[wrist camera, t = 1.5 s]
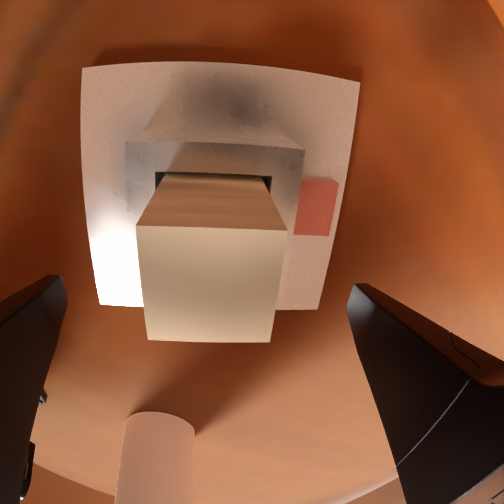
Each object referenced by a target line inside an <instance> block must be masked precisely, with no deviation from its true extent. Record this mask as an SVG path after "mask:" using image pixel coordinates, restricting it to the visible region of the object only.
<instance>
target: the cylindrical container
mask: <svg viewBox="0 0 504 504" xmlns="http://www.w3.org/2000/svg"><path fill="white" fill-rule="evenodd" d="M115 504H196V494H195V431H194V428H193V427H192V425H191V424H190V423H188V422H187V421H185V420H184V419H182V418H179V417H177V416H174V415H171V414H167V413H162V412H151V411H148V412H139V413H135V414H132V415H131V416H129V417H128V418H127V419H126V422H125V428H124V434H123V441H122V448H121V455H120V462H119V470H118V478H117V487H116V496H115Z"/></svg>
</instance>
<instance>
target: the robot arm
mask: <svg viewBox="0 0 504 504" xmlns="http://www.w3.org/2000/svg"><path fill="white" fill-rule="evenodd" d="M66 307H67V295H66V291H65V287H64V283H63V279H62V277H61V276H60V275H47V276H46V277H44V278H42V279H40V280H38V281H36V282H34V283H33V284H31V285H29V286H27V287H25V288H24V289H22V290H20V291H18V292H16V293H15V294H13V295H11V296H9V297H8V298H6V299H4V300H3V301H1V302H0V504H19V503H20V500H22V499H23V498H24V497H25V496H26V494H27V491H28V489H29V486H30V482H31V475H32V466H33V458H34V451H35V444H34V443H32V442H31V441H30V437H31V432H32V428H33V424H34V420H35V416H36V412H37V408H38V404H39V403H40V404H45V403H46V398H45V397H44V395H43V393H42V390H43V387H44V383H45V380H46V377H47V373H48V370H49V367H50V364H51V361H52V358H53V355H54V352H55V349H56V346H57V342H58V339H59V334H60V330H61V326H62V322H63V318H64V315H65V311H66ZM347 314H348V318H349V321H350V325H351V329H352V333H353V337H354V341H355V345H356V349H357V352H358V355H359V358H360V360H361V363H362V366H363V369H364V371H365V374H366V377H367V380H368V383H369V385H370V388H371V391H372V394H373V397H374V400H375V403H376V406H377V408H378V411H379V414H380V417H381V420H382V423H383V426H384V430H385V433H386V436H387V439H388V442H389V445H390V448H391V451H392V455H393V458H394V461H395V465H396V466H397V467H396V469H397V472H398V475H399V479H400V482H401V485H402V489H403V493H404V496H405V500H406V503H407V504H504V361H502V360H500V359H498V358H497V357H495V356H493V355H491V354H489V353H487V352H485V351H483V350H481V349H479V348H478V347H476V346H474V345H472V344H470V343H469V342H467V341H465V340H463V339H462V338H460V337H458V336H456V335H455V334H453V333H451V332H449V331H448V330H446V329H445V328H443V327H441V326H440V325H438V324H436V323H435V322H433V321H431V320H429V319H428V318H426V317H424V316H423V315H421V314H419V313H417V312H416V311H414V310H412V309H411V308H409V307H407V306H405V305H404V304H402V303H400V302H399V301H397V300H395V299H393V298H392V297H390V296H388V295H386V294H385V293H383V292H381V291H379V290H378V289H376V288H374V287H372V286H371V285H369V284H367V283H356V284H354V285H353V287H352V290H351V294H350V297H349V300H348V303H347ZM29 441H30V442H29Z"/></svg>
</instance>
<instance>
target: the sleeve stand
mask: <svg viewBox="0 0 504 504" xmlns="http://www.w3.org/2000/svg"><path fill="white" fill-rule="evenodd" d="M359 89H360V82H356V81H351V80H347V79H342V78H337V77H332V76H327V75H322V74H316V73H310V72H304V71H298V70H291V69H284V68H276V67H268V66H259V65H248V64H235V63H219V62H142V63H126V64H114V65H104V66H95V67H87V68H82V81H81V160H82V177H83V190H84V201H85V211H86V220H87V228H88V236H89V243H90V250H91V256H92V262H93V268H94V274H95V280H96V285H97V290H98V295H99V300H100V304H108V305H123V306H140V307H143V300H142V292H141V283H140V273H139V263H138V252H137V239H136V224H137V222H138V220H139V219H140V217H141V215H142V213H143V211H144V210H145V208H146V206H147V204H148V203H149V201H150V199H151V197H152V196H153V194H154V192H155V191H156V189H157V187H158V185H159V184H160V182H161V180H162V179H163V177H164V175H165V174H166V172H201V173H226V174H245V175H260V176H261V178H262V180H263V182H264V184H265V186H266V188H267V190H268V192H269V194H270V196H271V198H272V200H273V202H274V204H275V206H276V208H277V210H278V212H279V214H280V216H281V218H282V220H283V222H284V224H285V226H286V228H287V230H288V234H287V241H286V247H285V254H284V260H283V267H282V273H281V279H280V285H279V291H278V297H277V303H276V309H275V310H312V309H318V305H319V301H320V297H321V293H322V289H323V285H324V281H325V277H326V272H327V268H328V264H329V259H330V255H331V251H332V246H333V241H334V237H335V232H336V227H337V223H338V218H339V213H340V208H341V203H342V197H343V192H344V187H345V181H346V176H347V170H348V164H349V158H350V152H351V146H352V140H353V133H354V126H355V120H356V112H357V105H358V97H359Z"/></svg>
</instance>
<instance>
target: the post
mask: <svg viewBox="0 0 504 504" xmlns="http://www.w3.org/2000/svg"><path fill="white" fill-rule="evenodd" d="M287 234H288V230H287V228H286V226H285V224H284V222H283V220H282V218H281V216H280V214H279V212H278V210H277V208H276V206H275V204H274V202H273V200H272V198H271V196H270V194H269V192H268V190H267V188H266V186H265V184H264V182H263V180H262V178H261V176H260V175H245V174H226V173H201V172H166V174H165V175H164V177H163V179H162V180H161V182H160V184H159V185H158V187H157V189H156V191H155V192H154V194H153V196H152V197H151V199H150V201H149V203H148V204H147V206H146V208H145V210H144V211H143V213H142V215H141V217H140V219H139V220H138V222H137V224H136V239H137V252H138V263H139V273H140V283H141V292H142V300H143V308H144V315H145V322H146V329H147V336H148V340H163V341H186V342H270V338H271V333H272V327H273V321H274V315H275V309H276V303H277V297H278V291H279V285H280V279H281V273H282V267H283V260H284V254H285V247H286V241H287Z"/></svg>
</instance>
